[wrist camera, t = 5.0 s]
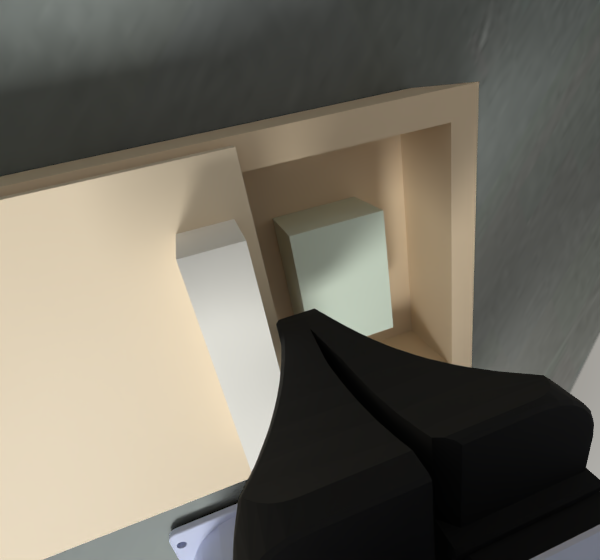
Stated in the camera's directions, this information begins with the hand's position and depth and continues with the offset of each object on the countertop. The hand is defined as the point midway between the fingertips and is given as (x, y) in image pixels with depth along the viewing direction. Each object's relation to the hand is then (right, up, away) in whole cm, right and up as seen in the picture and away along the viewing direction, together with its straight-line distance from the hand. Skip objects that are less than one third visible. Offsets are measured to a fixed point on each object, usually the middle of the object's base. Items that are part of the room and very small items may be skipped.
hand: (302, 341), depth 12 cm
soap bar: (+1, +3, +5) cm, 6 cm away
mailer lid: (-8, -2, 0) cm, 8 cm away
